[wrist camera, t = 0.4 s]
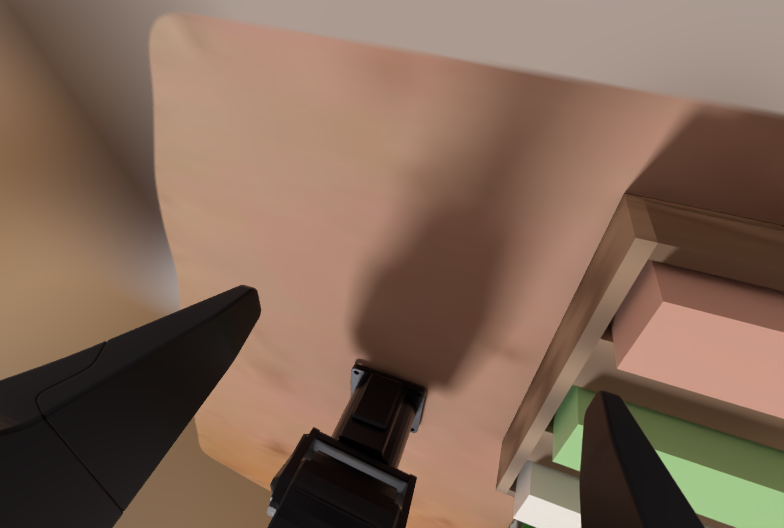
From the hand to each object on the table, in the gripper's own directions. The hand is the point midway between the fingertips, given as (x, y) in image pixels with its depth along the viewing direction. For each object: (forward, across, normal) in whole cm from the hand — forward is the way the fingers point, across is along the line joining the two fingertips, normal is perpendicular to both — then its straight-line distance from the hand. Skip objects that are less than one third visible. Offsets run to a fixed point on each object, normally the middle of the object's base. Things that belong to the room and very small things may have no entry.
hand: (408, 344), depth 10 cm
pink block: (+11, -13, +4) cm, 17 cm away
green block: (+11, -13, +12) cm, 21 cm away
